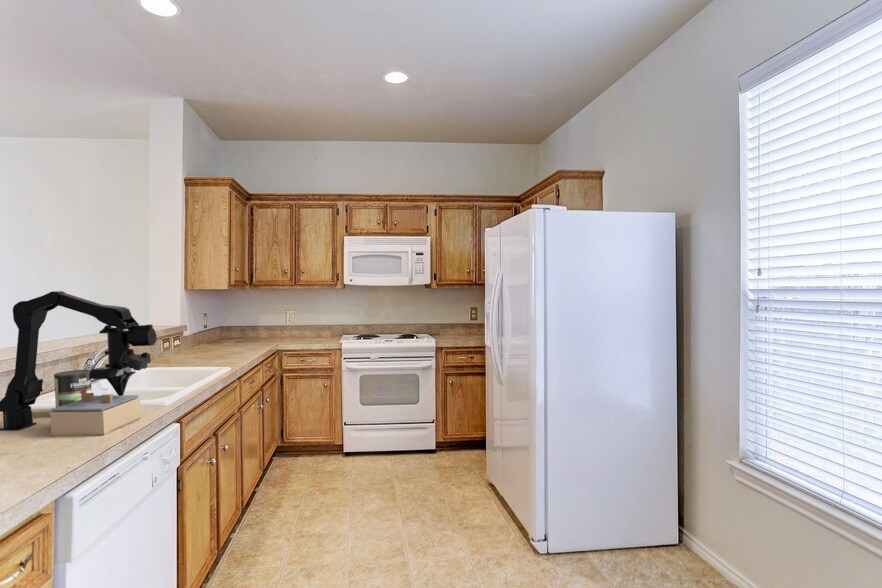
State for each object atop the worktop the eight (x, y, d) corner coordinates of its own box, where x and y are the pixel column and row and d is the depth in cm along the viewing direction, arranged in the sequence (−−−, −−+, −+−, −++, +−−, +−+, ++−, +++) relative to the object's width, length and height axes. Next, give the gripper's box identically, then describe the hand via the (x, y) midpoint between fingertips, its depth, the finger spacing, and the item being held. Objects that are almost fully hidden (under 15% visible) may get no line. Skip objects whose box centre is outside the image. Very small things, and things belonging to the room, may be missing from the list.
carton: (51, 435, 141) (50, 412, 141) (93, 419, 157) (92, 398, 157) (104, 435, 141) (103, 411, 140) (140, 419, 156) (139, 397, 156)
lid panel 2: (74, 403, 149) (73, 394, 149) (93, 397, 157) (92, 388, 157) (121, 403, 148) (121, 393, 148) (138, 397, 156) (138, 387, 156)
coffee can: (100, 410, 169) (98, 370, 168) (68, 418, 159) (66, 376, 159) (80, 407, 172) (78, 368, 172) (48, 415, 163) (46, 374, 162)
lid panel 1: (51, 411, 141) (51, 401, 141) (73, 404, 149) (72, 394, 149) (101, 410, 140) (101, 400, 140) (120, 403, 148) (120, 394, 148)
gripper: (122, 351, 143) (124, 403, 144) (161, 342, 162) (163, 388, 162) (86, 351, 144) (88, 403, 144) (129, 342, 162) (131, 388, 163)
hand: (120, 395), depth 153 cm, fingers closed
